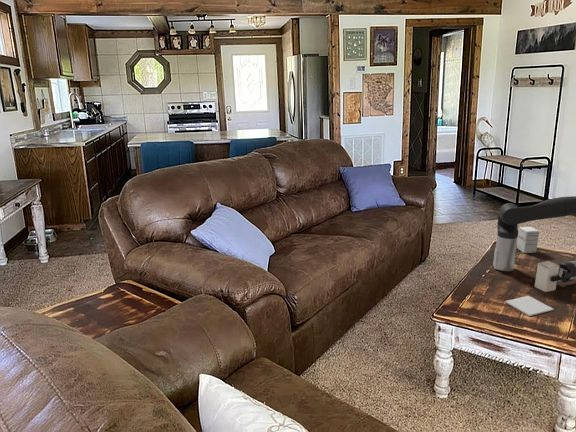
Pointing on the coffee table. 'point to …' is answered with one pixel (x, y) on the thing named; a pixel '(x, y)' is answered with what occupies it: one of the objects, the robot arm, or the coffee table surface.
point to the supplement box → (528, 239)
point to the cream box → (546, 276)
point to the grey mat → (529, 305)
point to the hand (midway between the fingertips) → (543, 275)
